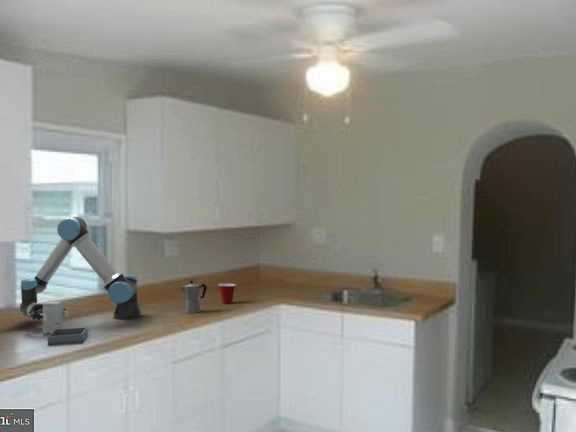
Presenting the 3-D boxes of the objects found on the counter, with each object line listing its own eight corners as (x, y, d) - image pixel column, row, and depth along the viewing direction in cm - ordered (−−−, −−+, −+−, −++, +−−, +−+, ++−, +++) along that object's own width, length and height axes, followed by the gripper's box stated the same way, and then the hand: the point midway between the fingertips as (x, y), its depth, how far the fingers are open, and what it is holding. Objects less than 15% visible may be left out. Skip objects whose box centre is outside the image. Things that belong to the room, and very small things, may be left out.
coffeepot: (182, 314, 325) (181, 282, 324) (179, 311, 334) (178, 280, 333) (209, 311, 330) (208, 280, 330) (205, 308, 339) (204, 278, 339)
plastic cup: (238, 303, 353) (238, 284, 352) (221, 305, 349) (220, 285, 348) (233, 301, 363) (233, 282, 362) (216, 302, 359) (216, 283, 358)
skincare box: (42, 333, 283) (41, 303, 283) (47, 330, 289) (46, 301, 289) (59, 333, 283) (58, 303, 282) (64, 330, 289) (63, 300, 289)
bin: (87, 335, 279) (87, 327, 279) (83, 342, 264) (82, 334, 264) (54, 337, 276) (54, 329, 276) (47, 345, 261) (47, 336, 261)
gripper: (58, 314, 306) (78, 319, 291) (15, 321, 290) (34, 327, 275) (58, 300, 306) (78, 304, 291) (15, 307, 290) (33, 312, 275)
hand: (56, 315), depth 283 cm, fingers closed on skincare box, 9 cm apart
